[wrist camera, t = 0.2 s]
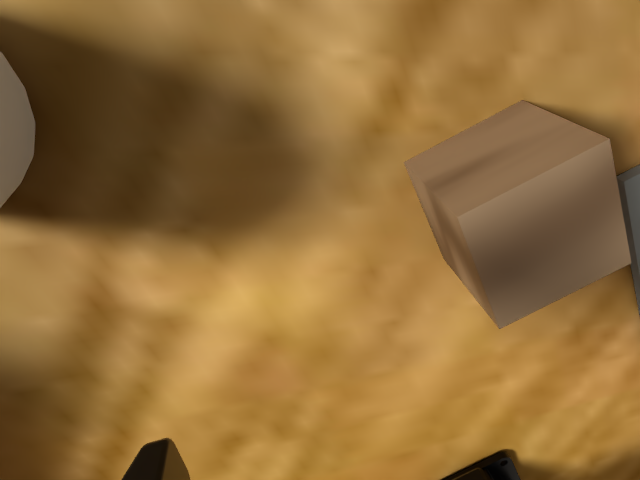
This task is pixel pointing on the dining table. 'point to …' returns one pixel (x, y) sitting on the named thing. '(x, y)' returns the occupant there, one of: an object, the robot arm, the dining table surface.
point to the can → (14, 131)
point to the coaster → (632, 219)
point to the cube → (523, 209)
